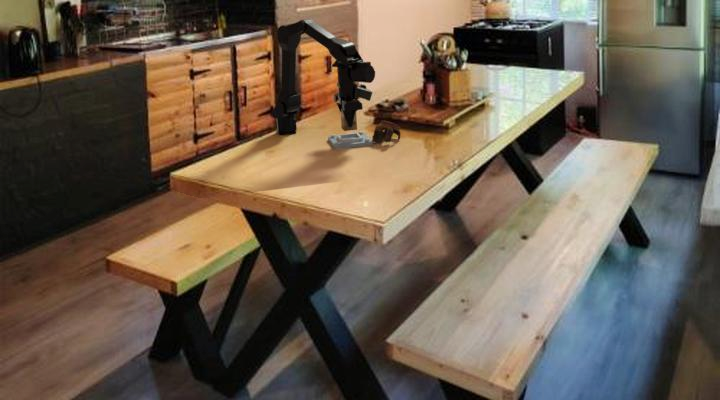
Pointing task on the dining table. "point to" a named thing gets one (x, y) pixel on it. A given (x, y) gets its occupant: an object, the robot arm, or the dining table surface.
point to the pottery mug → (385, 132)
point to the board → (349, 140)
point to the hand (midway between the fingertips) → (348, 125)
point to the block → (345, 125)
